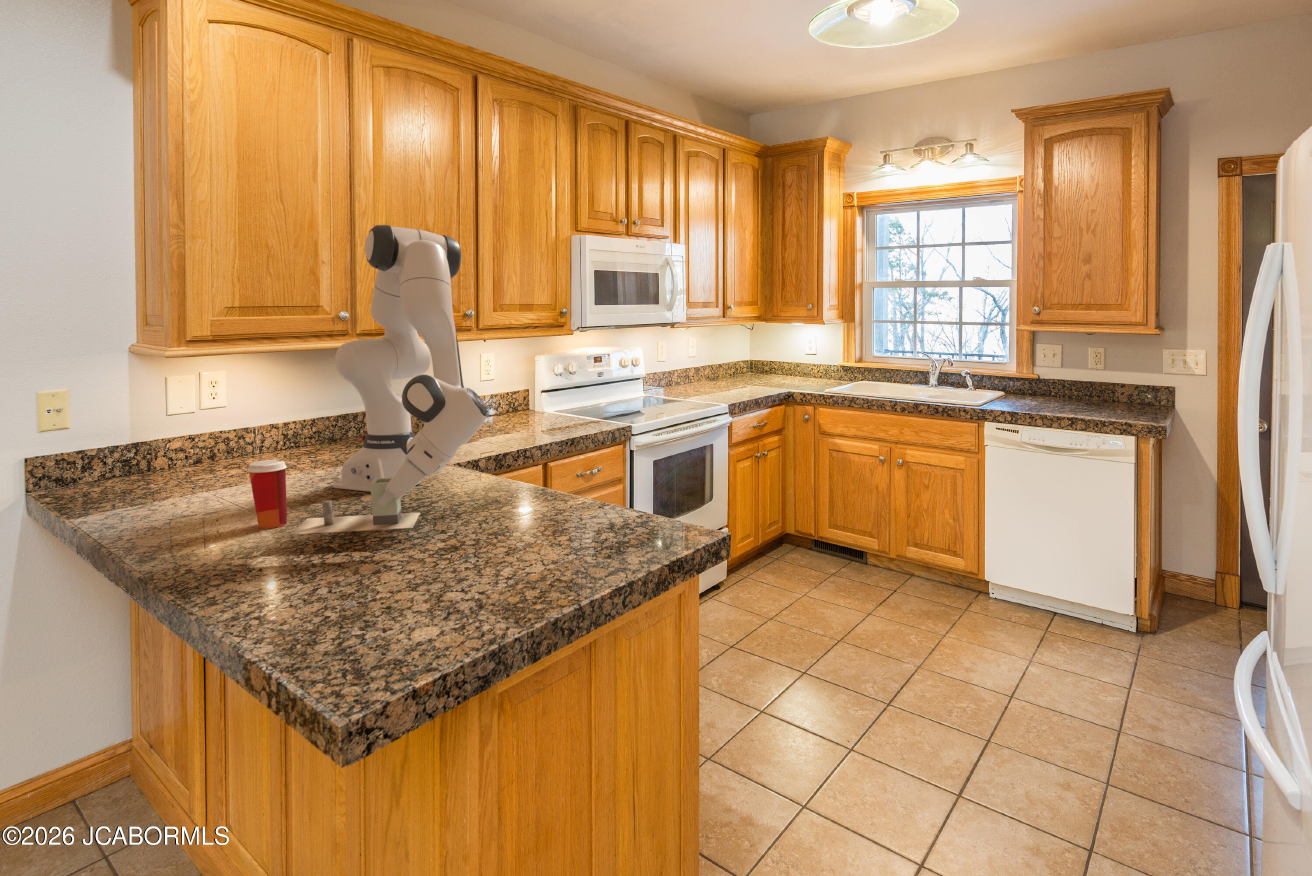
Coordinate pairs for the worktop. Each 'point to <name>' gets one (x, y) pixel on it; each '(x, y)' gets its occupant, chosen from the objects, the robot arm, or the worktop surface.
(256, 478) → the paper cup
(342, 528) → the pin board
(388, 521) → the sleeve
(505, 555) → the worktop surface
